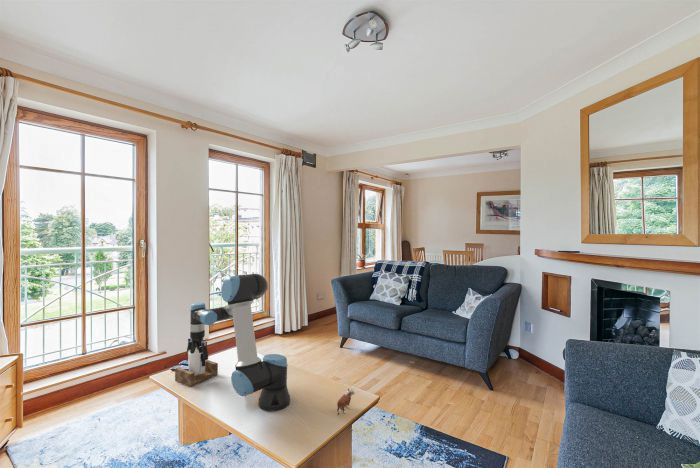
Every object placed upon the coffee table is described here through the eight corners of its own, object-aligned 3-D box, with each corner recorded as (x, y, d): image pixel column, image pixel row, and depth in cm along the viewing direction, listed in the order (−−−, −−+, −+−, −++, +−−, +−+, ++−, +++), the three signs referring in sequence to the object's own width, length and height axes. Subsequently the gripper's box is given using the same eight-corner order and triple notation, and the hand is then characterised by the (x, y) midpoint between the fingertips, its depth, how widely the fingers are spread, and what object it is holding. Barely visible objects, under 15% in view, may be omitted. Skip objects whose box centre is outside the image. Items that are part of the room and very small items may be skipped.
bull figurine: (356, 404, 158) (356, 388, 157) (341, 418, 146) (342, 400, 146) (348, 402, 160) (348, 385, 160) (333, 415, 148) (334, 397, 148)
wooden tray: (217, 375, 186) (217, 363, 186) (190, 387, 172) (190, 374, 172) (202, 369, 193) (202, 358, 193) (175, 380, 178) (175, 368, 178)
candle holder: (189, 368, 186) (189, 348, 186) (207, 366, 189) (207, 346, 188) (185, 376, 176) (186, 354, 176) (205, 374, 179) (205, 352, 179)
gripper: (215, 331, 180) (215, 371, 180) (191, 325, 191) (191, 363, 191) (204, 335, 174) (203, 376, 174) (179, 328, 184) (179, 367, 184)
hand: (196, 369), depth 182 cm, fingers closed on candle holder, 9 cm apart
